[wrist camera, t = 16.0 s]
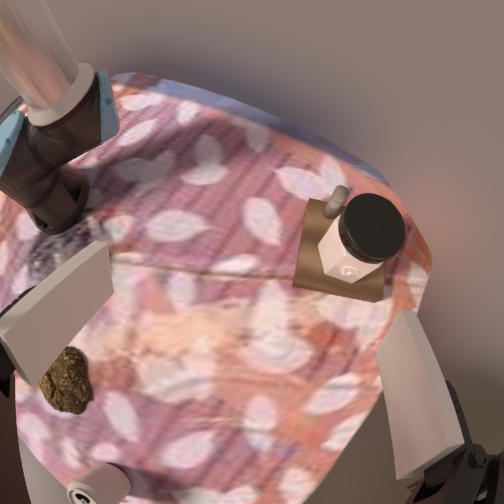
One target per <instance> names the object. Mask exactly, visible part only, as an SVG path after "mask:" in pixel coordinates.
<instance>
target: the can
mask: <svg viewBox="0 0 504 504" xmlns="http://www.w3.org/2000/svg"><path fill="white" fill-rule="evenodd" d="M130 490H131V484H130V481H129V480H128V478H127V476H126V475H125V474H124V473H123V472H122V471H121V470H119V469H118V468H117V467H115V466H113V465H110V464H107V463H100V464H98V465H96V466H95V467H93V468H92V469H90V470H89V471H88V472H86V473H85V474H83V475H82V476H80V477H79V478H77V479H76V480H74V481H72V482H71V483H70V484H69V486H68V491H67V496H68V499H69V501H70V502H71V504H119V503H120V502H121V501H122V500H123V499H124V498H125V497H126V495H127V494H128V493H129V492H130Z"/></svg>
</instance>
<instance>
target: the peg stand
mask: <svg viewBox="0 0 504 504" xmlns="http://www.w3.org/2000/svg"><path fill="white" fill-rule="evenodd" d="M348 194H349V191H348V189H347V188H346V187H345V186H342V185H339V186H337V187H336V188H335V190H334V192H333V194H332V196H331V198H330V200H329V201H328V202H324V201H320V200H316V199H312V198H309V201H308V203H307V206H306V211H305V217H304V223H303V229H302V235H301V241H300V246H299V252H298V258H297V263H296V268H295V274H294V279H293V284H292V286H294V287H299V288H303V289H308V290H313V291H318V292H323V293H328V294H332V295H337V296H342V297H347V298H353V299H358V300H363V301H368V302H373V303H375V302H377V301H380V300H382V297H383V288H384V276H385V263H386V261H384V262H383V263H382V264H381V266H380V267H379V268H377V269H375V270H374V271H372V272H371V273H369V274H367V275H366V276H364V277H362V278H361V279H359V280H357V281H356V282H354V283H349V282H346V281H343V280H340V279H337V278H334V277H332V276H329V275H326V274H325V273H324V269H323V265H322V261H321V257H320V253H319V249H318V244H319V242H320V241H321V239H322V238H323V236H324V235H325V234H326V232H327V231H328V229H329V228H330V226H331V225H332V223H333V222H334V220H335V219H336V218H337V217H338V216H339V215H341V213H342V212H343V210H344V209H345V207H344V206H342V204H343V203H344V201H345V200H346V198H347V196H348ZM386 199H387V198H386ZM387 200H389V199H387ZM389 201H390V200H389ZM390 202H391V201H390ZM391 203H392V202H391Z"/></svg>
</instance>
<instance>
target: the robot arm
mask: <svg viewBox="0 0 504 504" xmlns="http://www.w3.org/2000/svg"><path fill="white" fill-rule="evenodd" d="M0 72H1V73H2V74H3V75H4V76H5V78H6V79H7V80H8V81H9V82H10V84H11V85H12V86H13V87H14V88H15V89H16V91H17V92H18V93H19V94H20V95H21V96H22V98H23V99H24V100H25V101H26V102H27V103H28V104H29V108H28V116H26V117H25V115H24V113H22V112H20V111H17V112H14V113H13V114H11V115H10V116H9V117H8V118H7V119H6V120H5V121H4V122H3V123H2V124H1V125H0V190H1V191H3V192H4V193H5V194H6V195H8V196H9V197H10V198H12V199H13V200H14V201H16V202H17V203H18V204H20V205H21V206H23V207H24V208H25V209H26V211H27V213H28V214H29V216H30V218H31V219H32V221H33V223H34V224H35V226H36V227H37V228H38V229H40V230H41V231H43V232H44V233H46V234H49V235H55V234H58V233H61V232H63V231H64V230H66V229H67V228H69V227H70V226H71V225H72V224H73V223H74V222H75V221H76V219H77V218H78V217H79V215H80V214H81V212H82V210H83V209H84V207H85V204H86V202H87V198H88V193H89V184H88V180H87V178H86V177H85V175H84V174H83V173H82V172H81V171H80V170H79V169H78V168H76V167H74V166H72V165H69V164H67V163H68V162H69V161H71V160H73V159H75V158H76V157H78V156H80V155H82V154H84V153H86V152H87V151H89V150H91V149H93V148H95V147H97V146H99V145H102V144H103V142H105V141H107V140H108V139H110V138H112V137H114V136H115V135H116V134H117V133H118V132H119V129H120V121H119V116H118V112H117V108H116V103H115V99H114V95H113V91H112V87H111V83H110V80H109V76H108V73H107V72H106V71H105V70H103V71H98V72H96V74H95V72H94V71H93V69H92V67H91V66H90V65H88V64H85V63H77V62H76V61H75V59H74V57H73V55H72V53H71V52H70V49H69V47H68V46H67V44H66V42H65V40H64V38H63V36H62V34H61V32H60V30H59V28H58V26H57V24H56V22H55V20H54V18H53V16H52V14H51V12H50V10H49V8H48V6H47V4H46V1H45V0H0ZM113 293H114V292H113V285H112V277H111V269H110V260H109V250H108V244H107V243H104V242H100V241H96V240H95V241H94V242H92V243H91V244H90V245H88V246H87V247H85V248H84V249H83V250H81V251H80V252H79V253H77V254H76V255H75V256H73V257H72V258H71V259H69V260H68V261H67V262H65V263H64V264H63V265H62V266H60V267H59V268H58V269H56V270H55V271H54V272H53V273H51V274H50V275H49V276H48V277H47V278H45V279H44V280H43V281H42V282H40V283H39V284H38V285H36V286H33V287H31V288H29V289H27V290H26V291H24V292H23V293H22V294H21V295H20V296H19V297H18V299H15V300H14V301H13V302H12V304H11V305H9V306H7V307H6V308H5V309H4V310H3V311H2V312H1V313H0V504H31V501H30V498H29V494H28V490H27V486H26V482H25V478H24V473H23V468H22V463H21V457H20V452H19V444H18V435H17V424H16V407H15V375H14V374H13V372H14V371H15V369H16V370H17V372H18V373H19V375H20V376H21V378H22V379H23V380H24V381H26V382H27V383H28V384H30V385H31V386H32V387H35V386H36V385H37V383H38V382H39V381H40V379H41V378H42V377H43V375H44V374H45V373H46V371H47V370H48V369H49V368H50V366H51V365H52V364H53V363H54V361H55V360H56V359H57V358H58V356H59V355H60V354H61V353H62V351H63V350H64V349H65V348H66V347H67V345H68V344H69V343H70V342H71V341H72V339H73V338H74V337H75V336H76V335H77V333H78V332H79V331H80V330H81V329H82V328H83V326H84V325H85V324H86V323H87V322H88V321H89V320H90V318H91V317H92V316H93V315H94V314H95V313H96V312H97V311H98V309H99V308H100V307H101V306H102V305H103V304H104V303H105V302H106V301H107V300H108V298H109V297H110V296H111V295H112V294H113ZM375 355H376V359H377V363H378V367H379V372H380V376H381V381H382V386H383V391H384V396H385V401H386V406H387V411H388V417H389V424H390V430H391V436H392V444H393V451H394V460H395V469H396V479H397V480H398V479H404V478H410V477H414V476H416V475H417V474H419V473H421V472H422V471H424V477H422V478H420V479H418V480H417V481H415V482H413V483H411V484H409V485H408V486H407V489H409V488H411V487H413V486H415V485H416V487H415V488H414V489H412V490H411V491H412V493H411V495H410V496H409V498H408V499H407V501H406V502H405V504H504V451H502V452H501V453H500V454H498V455H488V454H486V452H485V450H484V449H483V447H482V446H480V445H477V444H473V443H472V440H471V437H470V433H469V430H468V427H467V423H466V420H465V417H464V414H463V412H462V408H461V405H460V403H459V399H458V396H457V394H456V391H455V389H454V388H453V386H452V385H451V384H450V382H449V381H445V380H444V377H443V375H442V372H441V370H440V367H439V365H438V362H437V360H436V357H435V355H434V353H433V351H432V348H431V346H430V343H429V341H428V339H427V337H426V335H425V332H424V330H423V328H422V326H421V324H420V322H419V320H418V318H417V316H416V314H415V311H409V310H403V309H401V310H400V312H399V314H398V315H397V317H396V319H395V321H394V323H393V324H392V326H391V328H390V330H389V331H388V333H387V335H386V336H385V338H384V340H383V341H382V343H381V345H380V346H379V348H378V349H377V351H376V353H375ZM486 491H487V495H486V498H484V499H482V500H480V501H479V500H478V496H479V495H481V494H482V493H484V492H486Z"/></svg>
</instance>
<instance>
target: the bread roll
mask: <svg viewBox="0 0 504 504" xmlns="http://www.w3.org/2000/svg"><path fill="white" fill-rule="evenodd" d="M38 384H39V386H40V388H41V390H42V392H43V395H44V397H45V398H46V400H47V401H48V403H49V404H50V405H51V406H52V407H54V409H56V410H59V411H60V412H70V413H73V414H77V415H78V414H80V413H81V412H82V411H83V410H84V407H85V402H84V401H87V400H88V398H89V384H88V380H87V378H86V375H85V362H84V361H83V359H82V356H81V355H80V354H79V352H77V351H76V350H74V349H72V348H68V347H66V348H65V349H64V350H63V351H62V353H61V354H60V355H59V356H58V358H57V359H56V360H55V361H54V363H53V364H52V365H51V366H50V368H49V369H48V370H47V371H46V373H45V374H44V375H43V377H42V378H41V379H40V381H39V382H38Z"/></svg>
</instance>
